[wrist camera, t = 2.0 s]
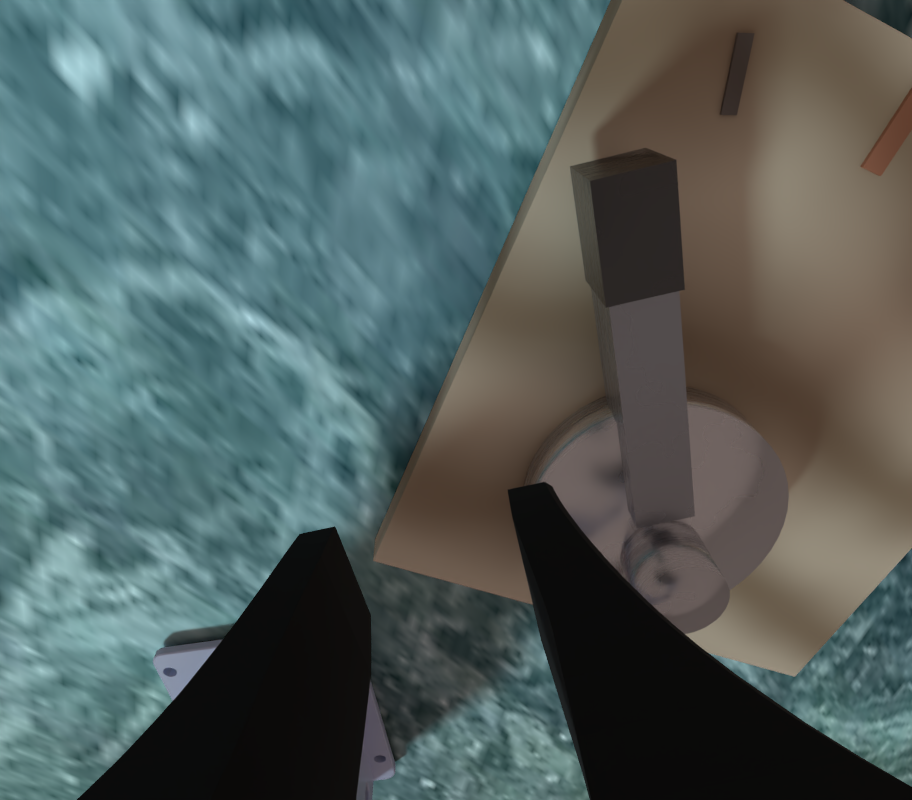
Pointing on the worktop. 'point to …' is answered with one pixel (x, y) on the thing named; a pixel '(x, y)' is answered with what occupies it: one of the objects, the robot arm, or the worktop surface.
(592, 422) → the dial
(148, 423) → the worktop surface
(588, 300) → the dial board
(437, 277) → the worktop surface
